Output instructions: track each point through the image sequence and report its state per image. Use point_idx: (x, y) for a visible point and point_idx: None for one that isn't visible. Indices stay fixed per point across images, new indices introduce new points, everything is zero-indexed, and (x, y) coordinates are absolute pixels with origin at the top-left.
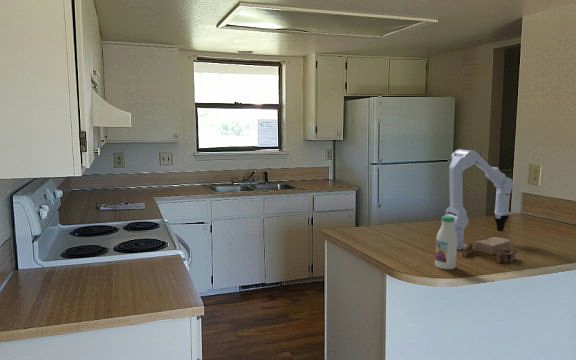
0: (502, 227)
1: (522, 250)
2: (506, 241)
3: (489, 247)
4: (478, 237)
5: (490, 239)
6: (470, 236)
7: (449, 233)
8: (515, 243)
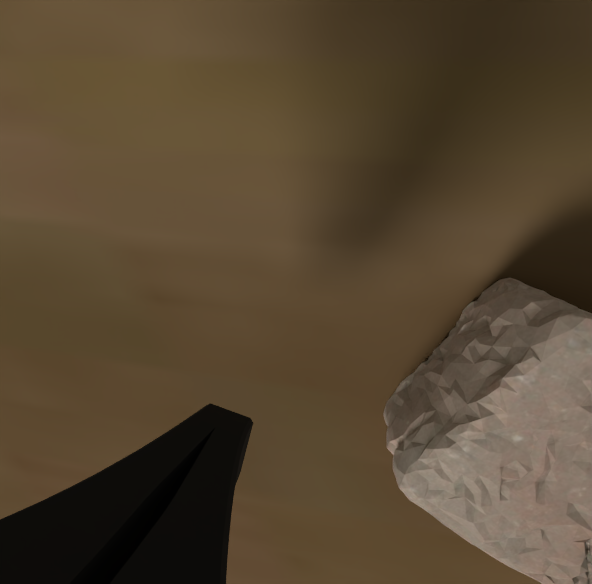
0: (231, 484)
1: (547, 131)
2: None
3: None
4: None
5: (577, 563)
6: None
7: None
8: (229, 197)
